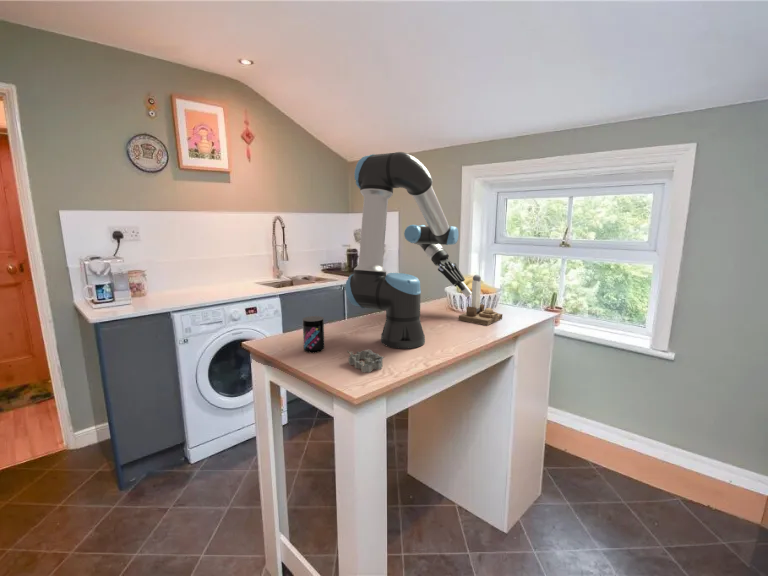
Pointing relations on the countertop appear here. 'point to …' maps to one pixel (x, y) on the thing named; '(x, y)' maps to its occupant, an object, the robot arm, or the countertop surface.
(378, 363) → the egg carton
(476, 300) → the lever
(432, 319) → the countertop surface
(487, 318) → the base
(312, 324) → the supplement container
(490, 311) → the walnut
